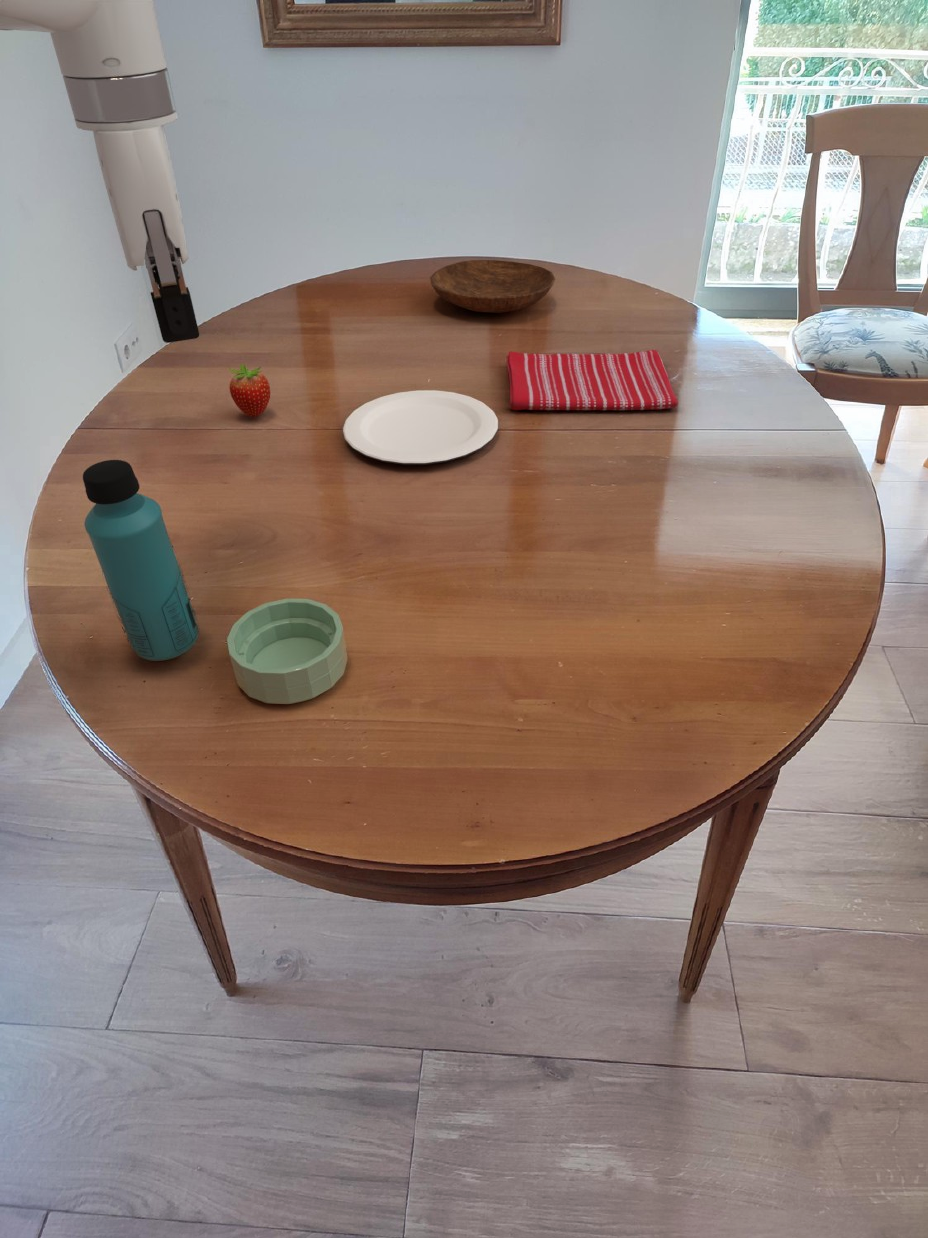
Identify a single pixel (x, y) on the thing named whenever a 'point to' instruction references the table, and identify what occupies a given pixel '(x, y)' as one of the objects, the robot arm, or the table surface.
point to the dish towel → (589, 381)
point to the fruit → (250, 391)
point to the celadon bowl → (287, 650)
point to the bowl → (492, 285)
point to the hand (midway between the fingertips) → (180, 336)
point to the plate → (420, 427)
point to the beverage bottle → (138, 563)
